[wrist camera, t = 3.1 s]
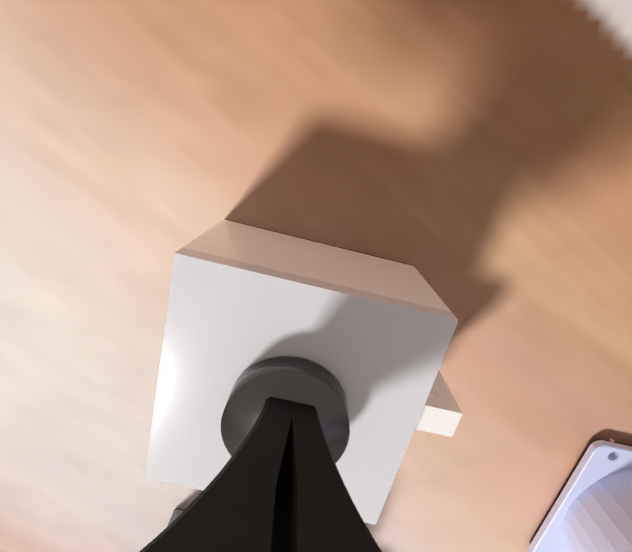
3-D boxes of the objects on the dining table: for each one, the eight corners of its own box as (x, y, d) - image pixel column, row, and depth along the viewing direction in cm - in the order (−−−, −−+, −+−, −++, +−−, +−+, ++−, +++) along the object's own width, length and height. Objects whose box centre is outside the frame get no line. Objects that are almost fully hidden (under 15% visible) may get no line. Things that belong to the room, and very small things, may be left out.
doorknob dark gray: (350, 313, 15) (365, 392, 10) (328, 388, 16) (331, 492, 11) (262, 292, 15) (232, 362, 10) (245, 370, 16) (211, 467, 11)
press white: (454, 276, 16) (519, 334, 10) (395, 427, 18) (425, 534, 13) (223, 219, 15) (174, 253, 10) (195, 384, 17) (144, 478, 12)
